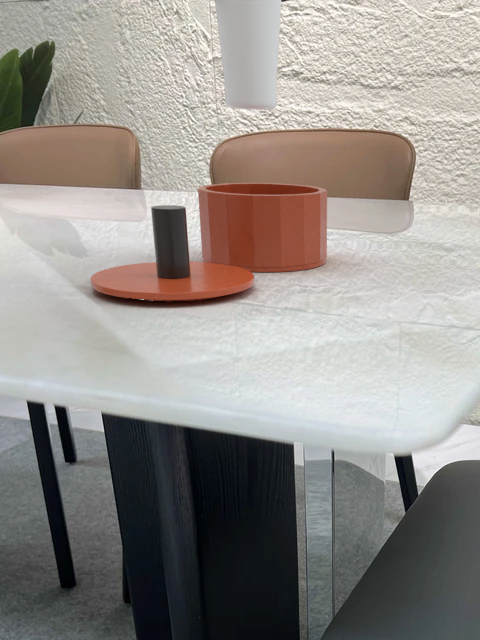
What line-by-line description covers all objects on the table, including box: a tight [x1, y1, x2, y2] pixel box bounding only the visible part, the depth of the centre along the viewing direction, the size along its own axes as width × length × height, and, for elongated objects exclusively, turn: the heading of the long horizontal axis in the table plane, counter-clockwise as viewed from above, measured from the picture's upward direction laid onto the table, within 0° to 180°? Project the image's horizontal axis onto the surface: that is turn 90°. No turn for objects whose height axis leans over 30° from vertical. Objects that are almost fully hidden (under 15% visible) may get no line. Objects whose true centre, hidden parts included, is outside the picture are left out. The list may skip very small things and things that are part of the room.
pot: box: [197, 182, 328, 273], centre depth 84 cm, size 14×14×8 cm
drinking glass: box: [214, 0, 282, 111], centre depth 77 cm, size 7×7×15 cm
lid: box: [90, 204, 255, 303], centre depth 70 cm, size 15×15×7 cm
